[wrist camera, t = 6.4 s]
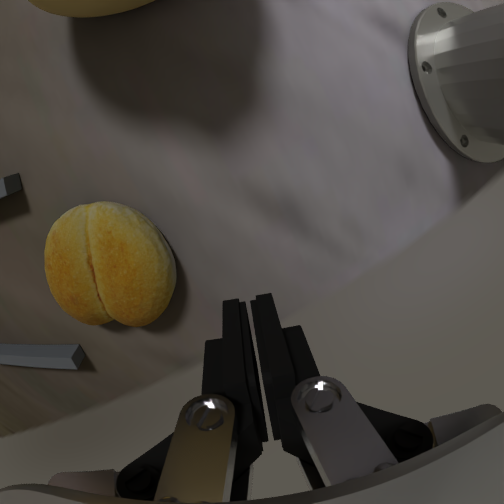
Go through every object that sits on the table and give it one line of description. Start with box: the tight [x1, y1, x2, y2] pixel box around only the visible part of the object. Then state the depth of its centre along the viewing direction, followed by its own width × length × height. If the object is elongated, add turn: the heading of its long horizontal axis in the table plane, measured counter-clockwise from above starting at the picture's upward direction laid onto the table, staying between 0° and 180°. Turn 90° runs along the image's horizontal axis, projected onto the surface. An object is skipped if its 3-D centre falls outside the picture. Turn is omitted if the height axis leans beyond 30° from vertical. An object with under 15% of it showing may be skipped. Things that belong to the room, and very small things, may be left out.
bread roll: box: [45, 201, 177, 327], centre depth 16 cm, size 8×9×4 cm
